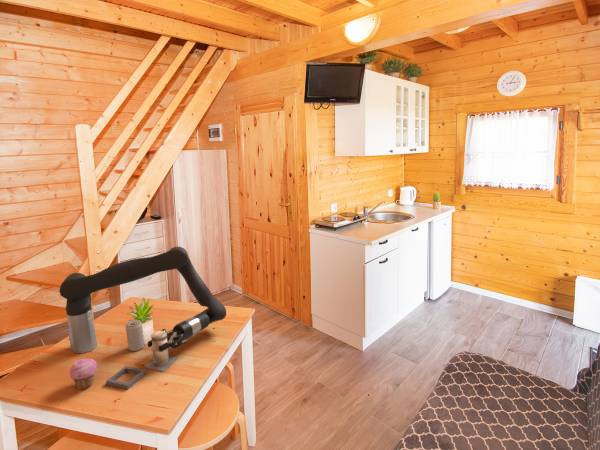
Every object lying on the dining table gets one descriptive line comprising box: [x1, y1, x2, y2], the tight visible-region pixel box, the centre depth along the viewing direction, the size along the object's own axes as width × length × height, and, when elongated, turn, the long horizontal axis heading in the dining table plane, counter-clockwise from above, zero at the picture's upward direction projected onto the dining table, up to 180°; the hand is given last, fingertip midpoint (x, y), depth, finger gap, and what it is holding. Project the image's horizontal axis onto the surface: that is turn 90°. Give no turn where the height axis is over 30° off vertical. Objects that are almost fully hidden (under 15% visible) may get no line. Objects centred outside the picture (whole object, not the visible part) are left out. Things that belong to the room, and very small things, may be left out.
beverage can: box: [125, 319, 145, 352], centre depth 158 cm, size 6×6×12 cm
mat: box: [143, 355, 178, 373], centre depth 147 cm, size 9×9×1 cm
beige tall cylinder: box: [150, 330, 169, 366], centre depth 146 cm, size 6×6×12 cm
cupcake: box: [69, 358, 98, 390], centre depth 134 cm, size 9×9×10 cm
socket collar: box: [105, 365, 147, 390], centre depth 137 cm, size 10×10×2 cm
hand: (153, 347), depth 143 cm, fingers open, 6 cm apart
